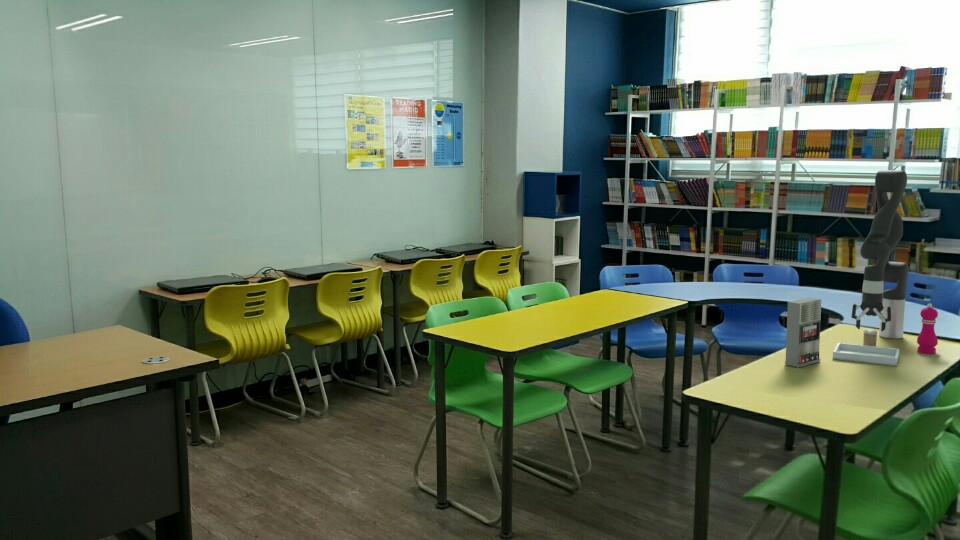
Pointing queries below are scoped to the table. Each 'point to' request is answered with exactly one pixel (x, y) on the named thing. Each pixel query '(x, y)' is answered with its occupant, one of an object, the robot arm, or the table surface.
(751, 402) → the table surface
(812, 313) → the cassette tape recorder
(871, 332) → the shaker
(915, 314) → the table surface
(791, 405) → the table surface
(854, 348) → the tray
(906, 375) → the table surface
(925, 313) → the pepper mill
